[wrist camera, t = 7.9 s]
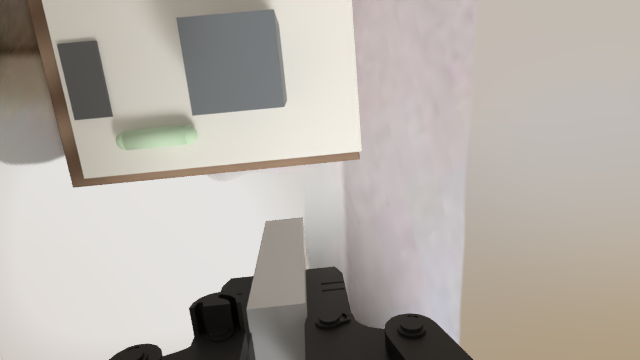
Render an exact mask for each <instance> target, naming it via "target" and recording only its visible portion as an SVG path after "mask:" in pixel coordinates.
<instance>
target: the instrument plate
mask: <svg viewBox="0 0 640 360" xmlns="http://www.w3.org/2000/svg"><path fill="white" fill-rule="evenodd" d="M42 4H43V8H44V12H45V16H46V20H47V25H48V29H49V33H50V37H51V41H52V46H53V50H54V54H55V58H56V62H57V66H58V71H59V75H60V79H61V83H62V87H63V92H64V96H65V100H66V104H67V108H68V113H69V117H70V121H71V125H72V129H73V134H74V138H75V142H76V146H77V150H78V154H79V159H80V163H81V167H82V171H83V175H84V179H87V178H97V177H107V176H118V175H128V174H138V173H148V172H158V171H168V170H178V169H189V168H199V167H209V166H219V165H229V164H239V163H249V162H259V161H270V160H280V159H290V158H300V157H310V156H320V155H330V154H341V153H351V152H361V151H362V150H361V135H360V120H359V104H358V89H357V74H356V58H355V43H354V28H353V13H352V0H42Z"/></svg>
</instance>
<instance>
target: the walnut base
mask: <svg viewBox="0 0 640 360" xmlns="http://www.w3.org/2000/svg"><path fill="white" fill-rule="evenodd" d="M27 2H28V6H29V10H30V14H31V18H32V22H33V27H34V31H35V35H36V39H37V43H38V47H39V51H40V55H41V59H42V63H43V67H44V71H45V75H46V79H47V83H48V87H49V91H50V95H51V99H52V104H53V108H54V112H55V116H56V120H57V124H58V128H59V132H60V136H61V140H62V144H63V148H64V152H65V156H66V160H67V164H68V168H69V172H70V176H71V180H72V185H73V187H82V186H93V185H103V184H112V183H122V182H133V181H144V180H153V179H163V178H174V177H184V176H195V175H205V174H215V173H225V172H235V171H245V170H255V169H266V168H276V167H286V166H296V165H306V164H316V163H327V162H337V161H347V160H357V159H360V155H359V152H351V153H341V154H330V155H320V156H310V157H300V158H290V159H280V160H270V161H259V162H249V163H239V164H229V165H219V166H209V167H199V168H189V169H178V170H168V171H158V172H148V173H138V174H128V175H118V176H107V177H97V178H87V179H84V175H83V171H82V167H81V163H80V159H79V154H78V150H77V146H76V142H75V138H74V134H73V129H72V125H71V121H70V117H69V113H68V108H67V104H66V100H65V96H64V92H63V87H62V83H61V79H60V75H59V71H58V66H57V62H56V58H55V54H54V50H53V46H52V41H51V37H50V33H49V29H48V25H47V20H46V16H45V12H44V8H43V4H42V0H27Z"/></svg>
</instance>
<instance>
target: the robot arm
mask: <svg viewBox="0 0 640 360" xmlns="http://www.w3.org/2000/svg"><path fill="white" fill-rule="evenodd" d="M189 310H190V315H191V320H192V325H193V331H194V336H195V337H194V339H193V342H192V344H191V346H190V347H188V348H187V349H184V350H181V351H179V352H176V353H173V354H169V355H166V356H162V351H161V349H160V348H159V347H158V346H156V345H152V344H141V345H134V346H131V347H129V348H126V349H125V350H123V351H121V352H119V353H117V354H116V355H114V356H113V357H112V358H111V359H109V360H473V359H472V358H471V357H470V356H469V355H468V354H467V353H466V352H465V351H464V350H463V349H462V348H461V347H460V346H459V345H458V344H457V343H456V342H455V341H454V340H453V339H452V338H451V337H450V336H449V335H448V334H447V333H446V332H445V331H444V330H443V329H442V328H441V327H440V326H439V325H438V324H437V323H436V322H434V321H433V320H431V319H430V318H428V317H425V316H422V315H419V314H402V315H398V316H395V317H393V318H391V319H390V320H389V321H388V322H387V323H386V325H385V329H378V328H371V327H367V326H364V325H362V324H360V323H358V322H357V321H356V320H355V318H354V316H353V315H352V313H351V311H350V306H349V302H348V297H347V293H346V289H345V284H344V280H343V275H342V273H341V272H340V271H339V270H338V269H337V268H335V267H326V268H317V269H308V264H307V255H306V245H305V236H304V227H303V218H293V219H284V220H274V221H266V223H265V228H264V233H263V237H262V241H261V246H260V251H259V255H258V260H257V264H256V269H255V274H254V276H252V277H242V278H233V279H231V280H230V281H228V282H227V283H226V284H225V285H224V286H223V287H222V290H221V292H218V293H213V294H209V295H207V296H204V297H202V298H200V299H198V300H197V301H195V302H194V303H193V304H192V305H191V307H190V308H189Z"/></svg>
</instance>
